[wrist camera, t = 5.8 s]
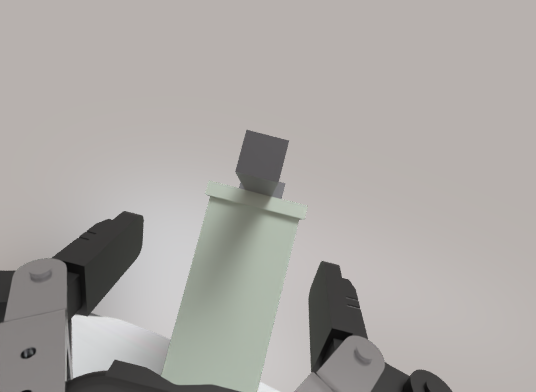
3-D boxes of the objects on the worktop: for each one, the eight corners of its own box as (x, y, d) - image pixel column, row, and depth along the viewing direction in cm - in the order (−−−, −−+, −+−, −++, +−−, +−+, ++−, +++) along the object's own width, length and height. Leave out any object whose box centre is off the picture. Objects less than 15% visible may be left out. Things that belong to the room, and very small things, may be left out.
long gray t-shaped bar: (299, 188, 19) (310, 146, 20) (213, 166, 19) (225, 124, 20) (277, 206, 45) (282, 188, 46) (240, 197, 45) (245, 178, 46)
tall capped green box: (231, 522, 28) (307, 205, 31) (122, 494, 28) (208, 180, 31) (243, 393, 49) (288, 211, 52) (181, 377, 49) (229, 196, 52)
